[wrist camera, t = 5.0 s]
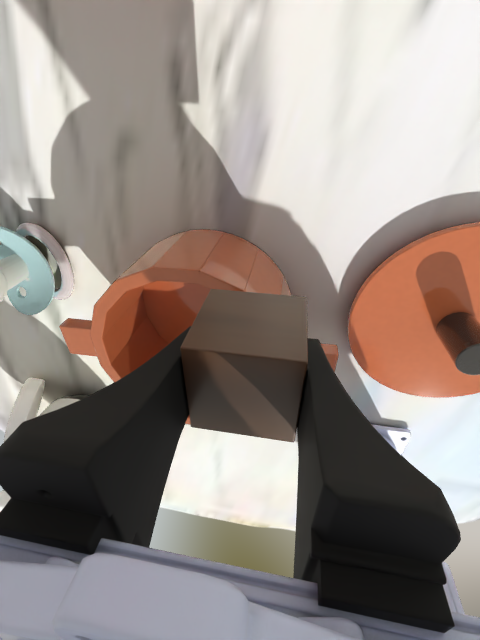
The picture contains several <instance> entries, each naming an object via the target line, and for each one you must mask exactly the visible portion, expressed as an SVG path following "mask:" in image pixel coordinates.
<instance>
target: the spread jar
mask: <svg viewBox="0 0 480 640" xmlns="http://www.w3.org/2000/svg"><path fill="white" fill-rule="evenodd" d="M44 387H45V380H43V379H37V378H31V377H29V378H28V379H27V380H26V382H25V383H24V385H23V387H22V388H21V390H20V392H19V395H18V397H17V399H16V401H15V404H14V407H13V409H12V412H11V415H10V418H9V421H8V424H7V428H6V432H5V436H4V442H5V441H6V440H7V439H8V437H9V436H10V435H11V434H12V433H13V432H14V431H15V430H16V429H17V428H18V426H19V425H20V424H21V423H22V422H24V421H27V420H30V419H33V418H35V417H36V416H37V413H38V410H39V407H40V403H41V400H42V396H43V392H44ZM88 396H90V395H72V396H66V397H62V398H59V399H57V400H55V401H54V402H53V403H51V404H50V405H49V406H48V407H47V408H46V409H45V410H44V411H43V412H42V413H41V414H40V415H39V416H41V415H44V414H47V413H49V412H52V411H55V410H57V409H60V408H62V407H65V406H67V405H70V404H72V403H74V402H77V401H79V400H81V399H83V398H85V397H88ZM10 499H11V497H10V496H9V495H8V494H7V492H6V491H5V490H3V491H1V492H0V512H1V511H2V509H3V508H4V507H5V505H6V504H7V503H8V501H9V500H10Z"/></svg>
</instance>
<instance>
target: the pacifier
mask: <svg viewBox="0 0 480 640" xmlns="http://www.w3.org/2000/svg"><path fill="white" fill-rule="evenodd" d="M28 235H29V236H33V237H35V238H36V239H38V240H39V241H41V242H42V243H43V244H44V245H45V246H46V247H47V248H48V249H49V251H50V252H51V253H52V255H53V256H54V258H55V260H56V262H57V264H58V266H59V269H60V272H61V278H62V283H61V287H60V288H59V289H57V288H55V281H54V275H53V272H52V269H51V267H50V265H49V263H48V261H47V260H46V258H45V257H44V255H43V254H42V252H41V251H40V250H39V249H38V248H37V247H36V246H35V245H34V244H33V243H31V242H30V241H29V240H27V239H26V237H27V236H28ZM0 242H1V244H2V245H0V302H1V301H2V300H3V299H4V297H5V296H6V294H7V295H8V297H9V300H10V301H11V303H12V305H13V306H14V307H15V308H16V309H17V310H18V311H19V312H21V313H23V314H26V315H33V314H37V313H39V312H41V311H42V310H44V309H45V308H46V307H47V306H48V305H49V304H50V303H51V301H52V299H53V298H54V299H59V300H62V299H67V298H68V297H69V296H70V295H71V294H72V291H73V289H74V276H73V271H72V268H71V264H70V262H69V260H68V258H67V256H66V254H65V252H64V250H63V249H62V247H61V246H60V244H59V243H58V242H57V241H56V240H55V238H54V237H53V236H52V235H51V234H50V233H49V232H47V231H46V230H45V229H44V228H42V227H40V226H38V225H36V224H33V223H28V222H26V223H22V224H20V225H19V227H18V228H17V229H16V232H14V231H12V230H10V229H7V228H5V227H2V226H0ZM20 287H23V288H24V289H25V290H26V296H25V297H24V296H22V295H21V294H20V292H19V288H20Z"/></svg>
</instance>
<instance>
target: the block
mask: <svg viewBox="0 0 480 640" xmlns="http://www.w3.org/2000/svg"><path fill="white" fill-rule="evenodd" d="M180 350H181V357H182V365H183V372H184V379H185V387H186V394H187V402H188V409H189V416H190V424H191V427H195V428H201V429H208V430H215V431H221V432H228V433H235V434H241V435H248V436H255V437H261V438H268V439H274V440H281V441H288V442H294V441H295V435H296V429H297V424H298V418H299V412H300V406H301V400H302V394H303V388H304V382H305V377H306V371H307V365H308V340H307V298H306V297H301V296H289V295H278V294H266V293H255V292H243V291H231V290H220V289H211V290H210V292H209V293H208V295H207V297H206V299H205V301H204V303H203V305H202V307H201V309H200V311H199V313H198V314H197V316H196V318H195V320H194V322H193V324H192V326H191V328H190V330H189V332H188V334H187V336H186V337H185V339H184V341H183V343H182V345H181V347H180Z"/></svg>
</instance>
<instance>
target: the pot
mask: <svg viewBox="0 0 480 640" xmlns="http://www.w3.org/2000/svg"><path fill="white" fill-rule="evenodd" d="M211 289H220V290H231V291H243V292H255V293H266V294H278V295H289V296H291V292H290V289H289V286H288V284H287V281H286V279H285V277H284V275H283V274H282V272H281V271H280V269H279V268H278V266H277V265H276V264H275V263H274V262H273V260H272V259H271V258H270V257H269V256H268V255H266V254H265V253H264V252H263V251H262V250H261V249H259V248H258V247H256V246H255V245H254V244H252V243H250V242H248V241H246V240H245V239H243V238H240V237H238V236H235V235H233V234H230V233H226V232H222V231H216V230H190V231H184V232H181V233H178V234H174V235H172V236H170V237H168V238H166V239H164V240H162V241H160V242H158V243H156V244H155V245H154V246H153V247H152V248H151V249H149V250H148V251H147V252H146V253H145V254H144V255H143V256H142V257H141V258H139V259H138V260H137V261H136V262H135V263H134V264H133V265H132V266H131V267H129V268H128V269H127V270H126V271H125V272H124V273H123V274H122V275H121V276H119V277H118V278H117V279H116V280H115V281H114V282H113V283H112V285H111V286H110V287H109V288H108V289H107V291H106V292H105V293H104V294H103V295H102V296H101V298H100V299H99V300H98V301H97V302H96V304H95V305H94V310H93V317H92V321H91V320H81V319H71V318H68V319H67V320H65V321H64V322H63V323H62V324H61V325H60V326H59V327H60V329H61V332H62V334H63V337H64V339H65V342H66V344H67V346H68V349H69V351H70V353H72V354H81V355H89V356H97V357H98V360H99V362H100V365H101V366H102V368H103V369H104V370H105V371H106V373H107V374H108V375H109V376H110V378H111V379H112V380H113V381H114V383H115V382H116V381H118V380H120V379H121V378H123V377H125V376H126V375H128V374H129V373H131V372H133V371H134V370H136V369H137V368H138V367H140V366H141V365H143V364H144V363H145V362H147V361H148V360H149V359H151V358H152V357H153V356H155V355H156V354H157V353H159V352H160V351H161V350H162V349H163V348H165V347H166V346H167V345H168V344H169V343H171V342H172V341H173V340H174V339H175V338H177V337H178V336H179V335H180V334H181V333H182V332H184V331H185V330H186V329H187V328H188V327H190V326H192V324H193V322H194V320H195V318H196V316H197V314H198V313H199V311H200V309H201V307H202V305H203V303H204V301H205V299H206V297H207V295H208V293H209V292H210V290H211ZM321 346H322V348H323V350H324V353H325V355H326V357H327V359H328V361H329V363H330V365H331V367H332V369H333V370H334V372H335V368H336V364H337V360H338V348H337V345H332V344H322V343H321ZM185 424H190V416H188V418H187V421H186V423H185Z"/></svg>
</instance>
